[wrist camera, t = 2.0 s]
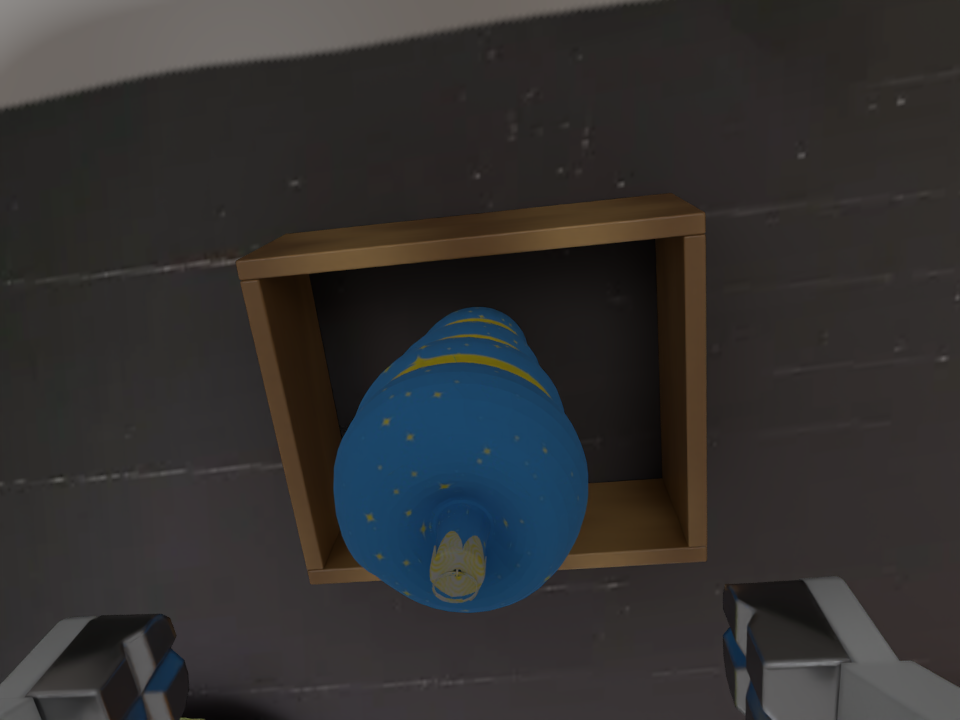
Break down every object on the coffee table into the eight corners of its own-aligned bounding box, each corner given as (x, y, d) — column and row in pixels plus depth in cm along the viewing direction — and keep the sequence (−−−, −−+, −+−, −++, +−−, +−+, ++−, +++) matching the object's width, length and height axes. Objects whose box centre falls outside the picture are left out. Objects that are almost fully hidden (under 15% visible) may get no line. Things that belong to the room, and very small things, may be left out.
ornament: (414, 243, 24) (262, 438, 10) (563, 249, 24) (625, 456, 10) (414, 383, 26) (286, 715, 12) (553, 390, 26) (594, 736, 12)
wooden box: (341, 513, 28) (309, 585, 24) (284, 233, 24) (234, 260, 20) (678, 490, 27) (707, 562, 22) (672, 192, 23) (706, 211, 19)
